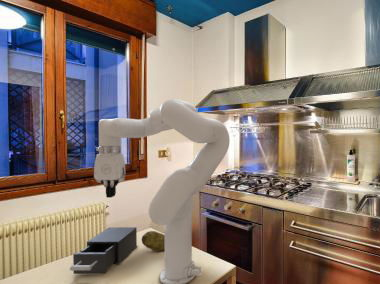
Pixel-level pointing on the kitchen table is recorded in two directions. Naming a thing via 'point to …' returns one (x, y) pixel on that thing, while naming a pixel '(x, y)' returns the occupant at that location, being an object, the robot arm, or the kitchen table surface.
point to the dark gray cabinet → (118, 240)
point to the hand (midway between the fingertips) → (110, 196)
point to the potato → (153, 240)
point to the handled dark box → (94, 259)
